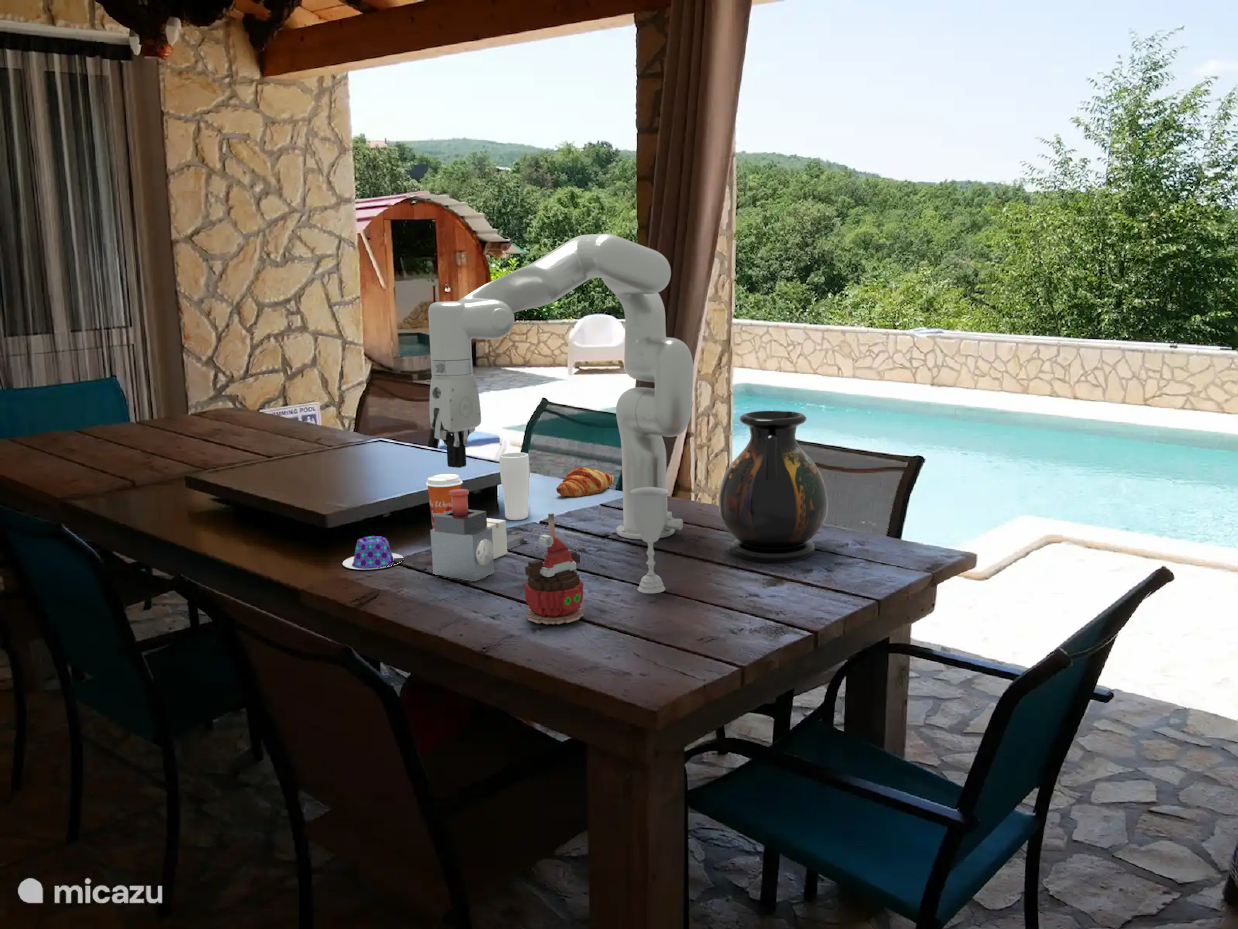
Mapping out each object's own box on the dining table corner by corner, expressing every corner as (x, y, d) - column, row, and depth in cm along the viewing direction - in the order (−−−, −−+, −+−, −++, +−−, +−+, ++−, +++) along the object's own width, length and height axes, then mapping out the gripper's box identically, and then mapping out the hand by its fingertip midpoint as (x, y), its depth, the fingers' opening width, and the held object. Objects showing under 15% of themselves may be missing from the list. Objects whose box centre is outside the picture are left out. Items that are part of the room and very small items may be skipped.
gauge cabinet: (497, 573, 207) (494, 512, 204) (475, 583, 201) (471, 520, 198) (454, 566, 212) (450, 507, 210) (431, 576, 206) (427, 515, 204)
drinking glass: (526, 522, 246) (524, 457, 244) (498, 521, 248) (495, 457, 245) (535, 515, 253) (532, 452, 250) (507, 514, 254) (504, 452, 252)
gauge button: (473, 513, 205) (472, 489, 204) (462, 517, 202) (460, 493, 201) (458, 511, 207) (457, 488, 206) (446, 515, 203) (445, 492, 203)
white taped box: (507, 553, 220) (506, 519, 219) (490, 560, 215) (488, 526, 213) (481, 549, 223) (480, 516, 222) (464, 557, 218) (462, 523, 217)
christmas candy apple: (561, 605, 187) (557, 503, 183) (597, 617, 180) (594, 512, 177) (512, 620, 180) (507, 515, 176) (548, 633, 173) (543, 524, 169)
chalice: (676, 592, 192) (674, 493, 188) (639, 597, 190) (637, 497, 186) (662, 581, 199) (660, 485, 195) (627, 585, 197) (625, 489, 193)
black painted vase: (828, 570, 203) (829, 423, 197) (713, 567, 207) (712, 423, 201) (827, 540, 224) (828, 406, 218) (723, 538, 227) (722, 407, 222)
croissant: (604, 496, 287) (593, 468, 289) (630, 482, 281) (619, 454, 282) (551, 510, 271) (539, 481, 272) (577, 495, 265) (565, 466, 266)
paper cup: (422, 544, 230) (418, 479, 227) (440, 535, 237) (436, 472, 234) (455, 546, 227) (451, 481, 224) (472, 537, 234) (469, 474, 231)
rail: (529, 543, 228) (529, 535, 228) (483, 562, 214) (483, 554, 214) (510, 540, 230) (510, 533, 230) (463, 559, 217) (463, 552, 216)
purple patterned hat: (333, 563, 218) (331, 538, 217) (389, 553, 225) (387, 528, 224) (356, 576, 208) (354, 550, 207) (413, 565, 215) (411, 539, 214)
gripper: (442, 373, 191) (447, 475, 194) (492, 365, 203) (496, 461, 207) (409, 372, 194) (415, 472, 198) (460, 364, 207) (465, 458, 210)
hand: (457, 466), depth 202 cm, fingers closed
